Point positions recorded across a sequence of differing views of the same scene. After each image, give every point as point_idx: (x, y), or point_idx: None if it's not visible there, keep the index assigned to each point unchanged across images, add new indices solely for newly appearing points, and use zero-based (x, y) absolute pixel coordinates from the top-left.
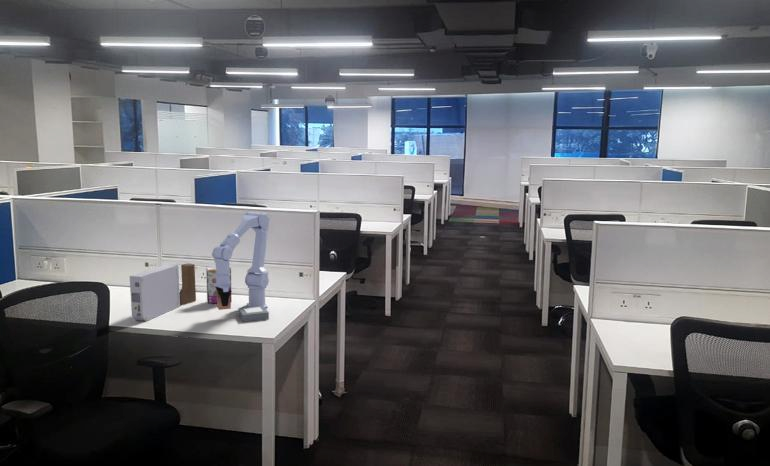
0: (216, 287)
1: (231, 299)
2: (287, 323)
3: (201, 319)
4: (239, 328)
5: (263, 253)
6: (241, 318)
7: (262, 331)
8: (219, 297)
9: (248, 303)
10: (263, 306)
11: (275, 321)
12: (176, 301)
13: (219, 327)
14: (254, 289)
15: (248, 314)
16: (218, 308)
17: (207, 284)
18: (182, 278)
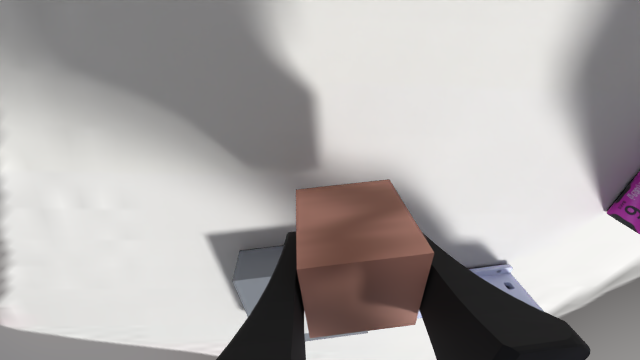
0: (547, 356)
1: (619, 221)
2: (200, 351)
3: (357, 28)
4: (123, 237)
5: None
6: (281, 249)
7: (86, 304)
8: (342, 275)
9: (505, 272)
10: (358, 333)
11: (229, 330)
12: None
13: (135, 148)
14: None
15: (240, 298)
16: (320, 189)
17: None
18: None
